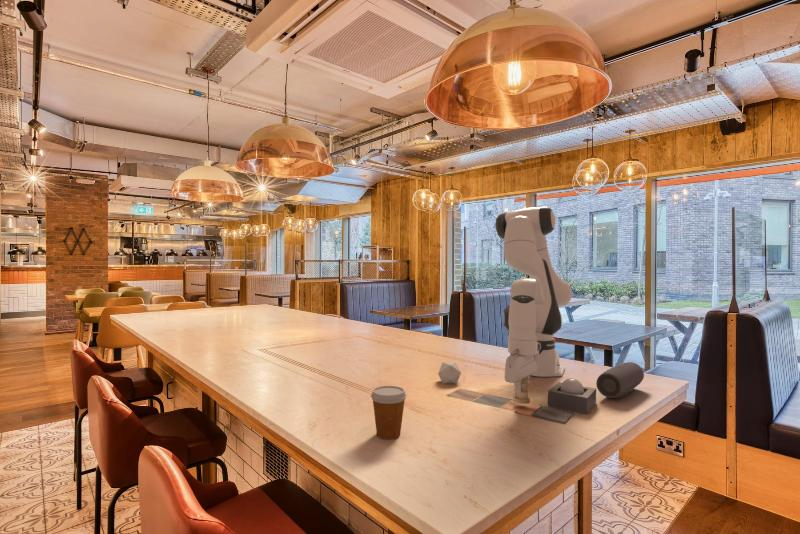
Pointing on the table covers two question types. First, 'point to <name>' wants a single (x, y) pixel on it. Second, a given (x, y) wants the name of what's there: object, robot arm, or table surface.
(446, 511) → the table surface
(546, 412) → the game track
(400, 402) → the disposable coffee cup
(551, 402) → the housing
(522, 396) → the tan rounded peg
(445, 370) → the die
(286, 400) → the table surface
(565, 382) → the pale grey ball
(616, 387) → the bluetooth speaker
